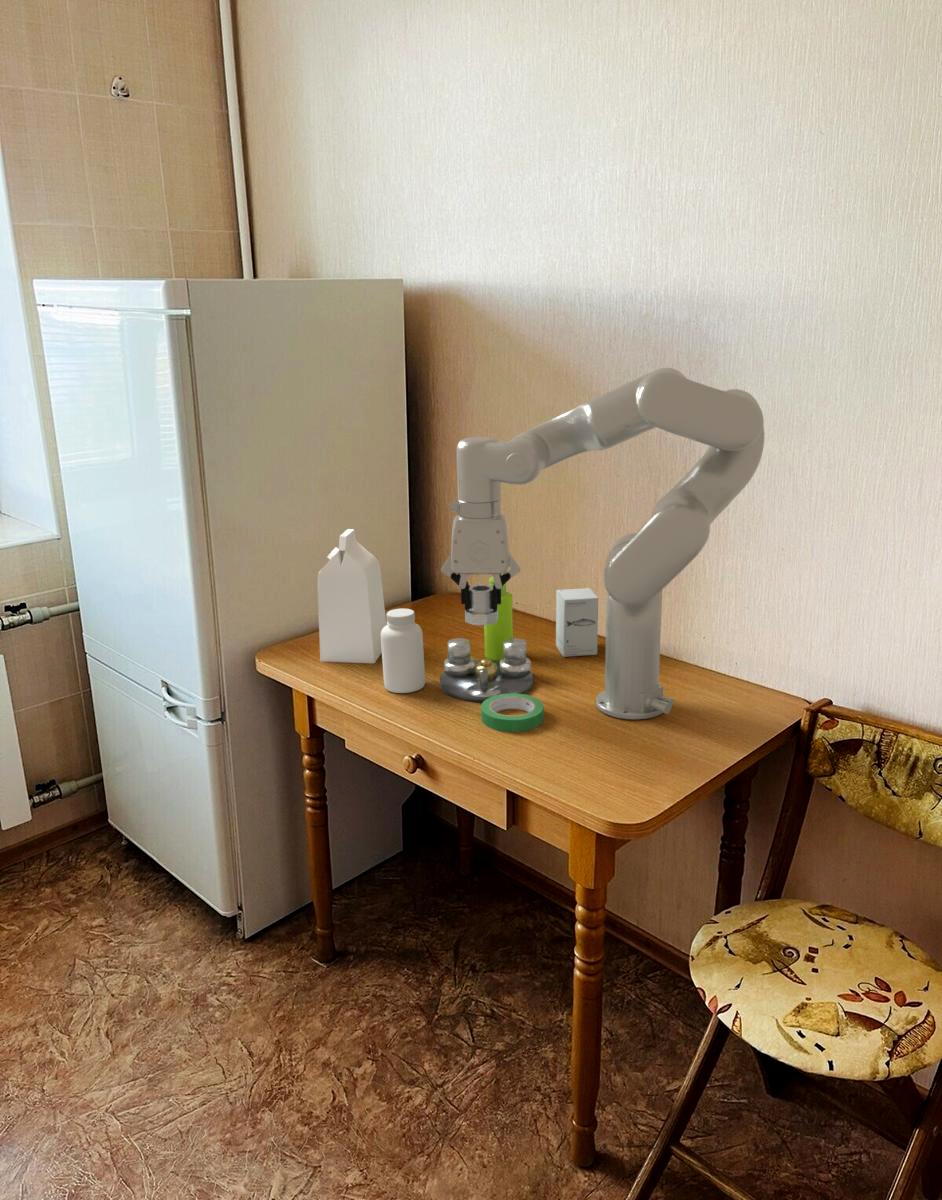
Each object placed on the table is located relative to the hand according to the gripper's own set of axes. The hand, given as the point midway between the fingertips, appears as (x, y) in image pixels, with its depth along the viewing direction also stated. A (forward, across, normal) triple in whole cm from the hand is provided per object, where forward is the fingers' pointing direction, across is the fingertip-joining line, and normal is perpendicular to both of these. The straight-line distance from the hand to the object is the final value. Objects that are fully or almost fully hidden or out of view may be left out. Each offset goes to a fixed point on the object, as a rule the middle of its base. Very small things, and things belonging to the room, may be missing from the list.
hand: (481, 606), depth 173 cm
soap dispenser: (+18, +2, +21) cm, 28 cm away
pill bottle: (+18, -16, +4) cm, 24 cm away
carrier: (+18, 0, +6) cm, 19 cm away
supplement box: (+18, +18, +24) cm, 35 cm away
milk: (+18, -29, +23) cm, 41 cm away
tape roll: (+18, +6, -9) cm, 21 cm away
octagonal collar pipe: (+3, 0, 0) cm, 3 cm away
